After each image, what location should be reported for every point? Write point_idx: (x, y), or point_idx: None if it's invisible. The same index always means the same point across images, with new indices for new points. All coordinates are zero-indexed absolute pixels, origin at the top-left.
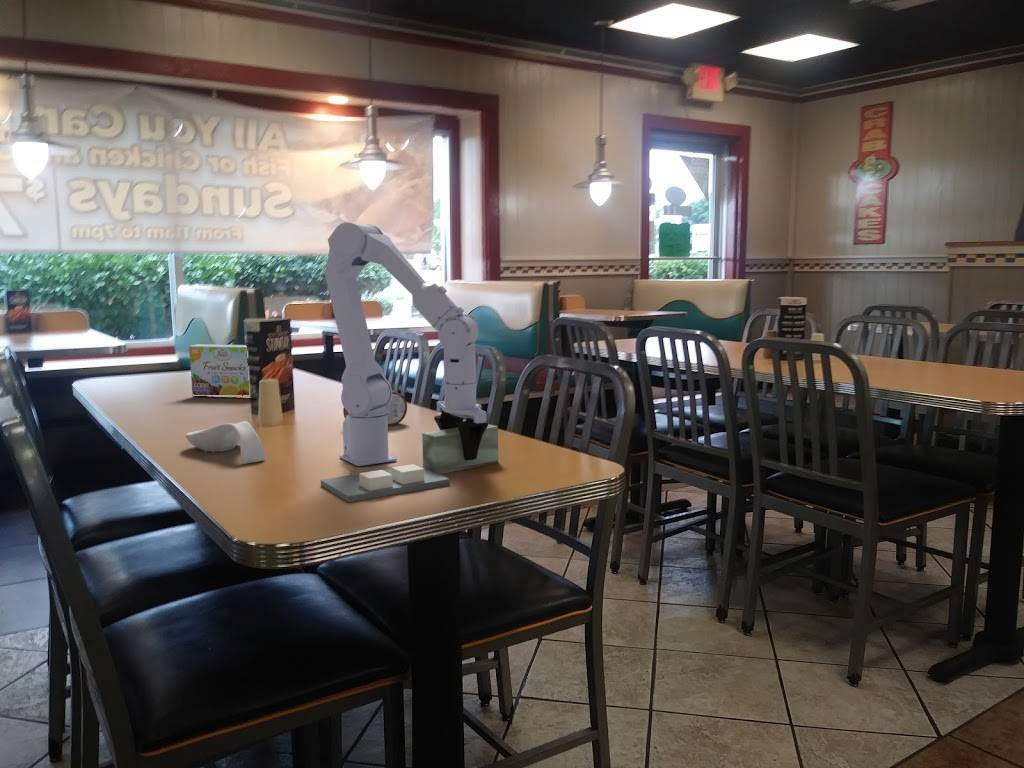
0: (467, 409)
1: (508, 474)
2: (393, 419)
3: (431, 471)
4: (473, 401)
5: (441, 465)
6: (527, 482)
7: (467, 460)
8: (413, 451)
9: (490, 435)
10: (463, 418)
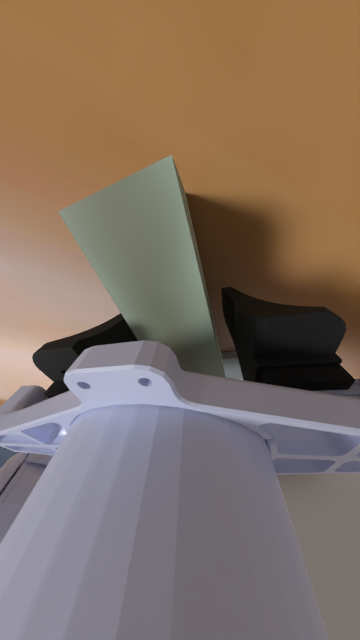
0: (273, 455)
1: (320, 218)
2: None
3: (232, 359)
4: (285, 523)
5: (219, 346)
6: None
7: (208, 297)
8: (57, 329)
9: (190, 226)
10: (90, 338)
